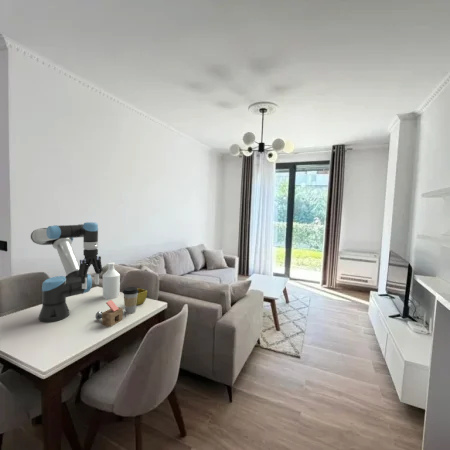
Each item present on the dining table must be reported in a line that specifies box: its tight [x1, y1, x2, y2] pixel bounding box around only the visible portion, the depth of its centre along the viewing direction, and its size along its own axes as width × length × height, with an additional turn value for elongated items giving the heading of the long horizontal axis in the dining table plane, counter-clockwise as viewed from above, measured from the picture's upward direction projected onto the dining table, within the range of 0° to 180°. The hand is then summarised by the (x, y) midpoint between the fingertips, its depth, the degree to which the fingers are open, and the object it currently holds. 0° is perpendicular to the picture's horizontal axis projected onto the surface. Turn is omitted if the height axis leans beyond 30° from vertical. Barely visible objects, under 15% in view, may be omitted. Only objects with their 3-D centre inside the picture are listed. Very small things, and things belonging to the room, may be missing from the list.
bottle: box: [102, 262, 121, 300], centre depth 190 cm, size 12×12×25 cm
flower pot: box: [136, 288, 148, 306], centre depth 178 cm, size 9×9×9 cm
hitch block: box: [101, 306, 124, 327], centre depth 149 cm, size 6×10×7 cm, turn 164°
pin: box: [94, 310, 116, 320], centre depth 150 cm, size 11×4×4 cm, turn 74°
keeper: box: [105, 299, 119, 312], centre depth 148 cm, size 7×4×1 cm
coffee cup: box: [122, 286, 139, 315], centre depth 164 cm, size 9×9×15 cm
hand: (90, 286), depth 152 cm, fingers open, 9 cm apart
